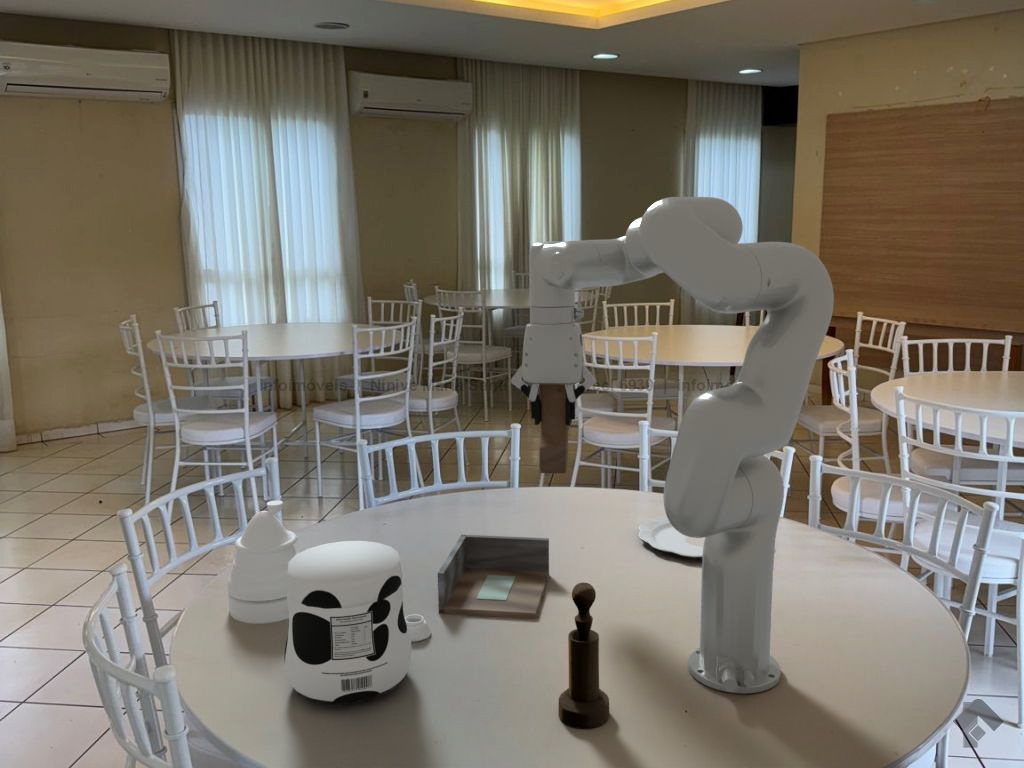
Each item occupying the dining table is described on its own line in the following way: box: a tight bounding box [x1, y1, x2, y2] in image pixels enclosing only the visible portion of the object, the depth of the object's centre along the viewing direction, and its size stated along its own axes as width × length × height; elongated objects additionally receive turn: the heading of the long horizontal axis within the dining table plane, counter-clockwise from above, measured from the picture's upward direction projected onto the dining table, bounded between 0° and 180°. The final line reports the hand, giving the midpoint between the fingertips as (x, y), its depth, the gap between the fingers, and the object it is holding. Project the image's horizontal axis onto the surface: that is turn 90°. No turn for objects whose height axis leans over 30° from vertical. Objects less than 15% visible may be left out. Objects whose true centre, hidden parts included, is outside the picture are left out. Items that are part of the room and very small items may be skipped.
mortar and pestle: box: [558, 581, 610, 730], centre depth 112 cm, size 7×6×18 cm
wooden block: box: [538, 384, 569, 474], centre depth 150 cm, size 9×4×18 cm, turn 174°
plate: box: [638, 514, 703, 560], centre depth 175 cm, size 25×25×2 cm
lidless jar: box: [404, 613, 432, 643], centre depth 137 cm, size 5×3×5 cm
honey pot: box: [227, 500, 299, 625], centre depth 147 cm, size 13×13×18 cm
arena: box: [437, 534, 550, 620], centre depth 151 cm, size 18×16×7 cm
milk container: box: [283, 540, 412, 705], centre depth 122 cm, size 17×17×18 cm
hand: (553, 422), depth 150 cm, fingers closed on wooden block, 4 cm apart
